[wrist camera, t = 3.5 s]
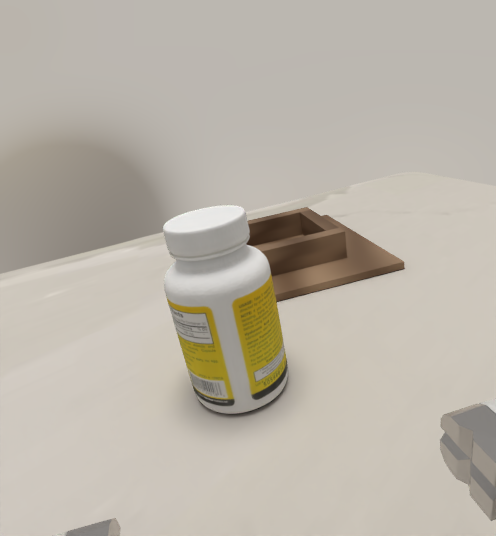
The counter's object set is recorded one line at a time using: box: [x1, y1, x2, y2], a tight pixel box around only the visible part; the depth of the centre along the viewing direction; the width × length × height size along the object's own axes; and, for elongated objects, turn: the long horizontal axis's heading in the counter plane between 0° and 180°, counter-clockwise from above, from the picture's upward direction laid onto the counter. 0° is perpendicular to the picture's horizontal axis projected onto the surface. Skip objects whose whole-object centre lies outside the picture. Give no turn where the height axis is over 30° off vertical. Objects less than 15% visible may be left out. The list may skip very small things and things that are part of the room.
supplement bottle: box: [163, 205, 288, 414], centre depth 20 cm, size 5×5×10 cm
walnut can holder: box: [246, 207, 404, 302], centre depth 37 cm, size 16×16×3 cm
